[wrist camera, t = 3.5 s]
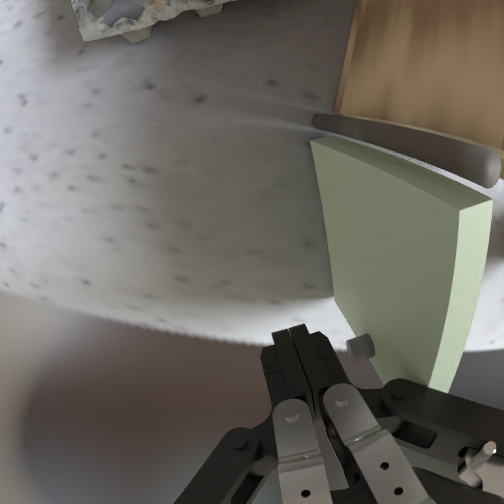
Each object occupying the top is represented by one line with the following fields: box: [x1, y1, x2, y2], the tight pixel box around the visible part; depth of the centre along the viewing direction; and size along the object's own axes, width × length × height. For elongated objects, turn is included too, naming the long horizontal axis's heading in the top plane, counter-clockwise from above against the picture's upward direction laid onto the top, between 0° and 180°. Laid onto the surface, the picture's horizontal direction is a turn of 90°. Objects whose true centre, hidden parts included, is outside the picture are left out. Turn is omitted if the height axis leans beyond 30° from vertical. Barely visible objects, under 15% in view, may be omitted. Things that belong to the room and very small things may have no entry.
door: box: [310, 136, 493, 393], centre depth 12 cm, size 2×10×10 cm, turn 14°
